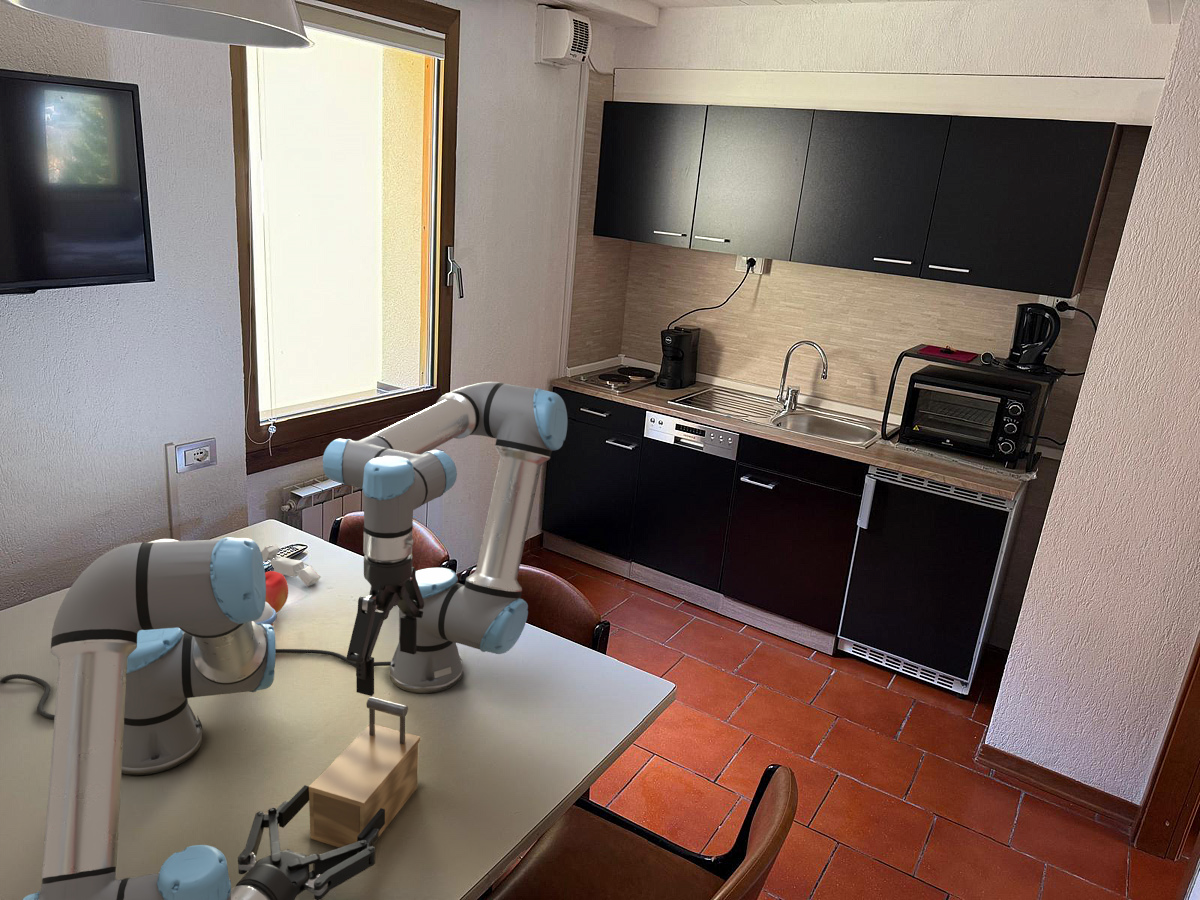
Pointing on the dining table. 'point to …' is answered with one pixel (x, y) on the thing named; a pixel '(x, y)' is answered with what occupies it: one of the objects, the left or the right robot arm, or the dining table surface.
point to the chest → (347, 820)
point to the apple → (276, 590)
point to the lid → (367, 758)
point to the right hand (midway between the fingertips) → (387, 671)
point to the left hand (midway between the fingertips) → (344, 804)
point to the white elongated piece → (290, 566)
